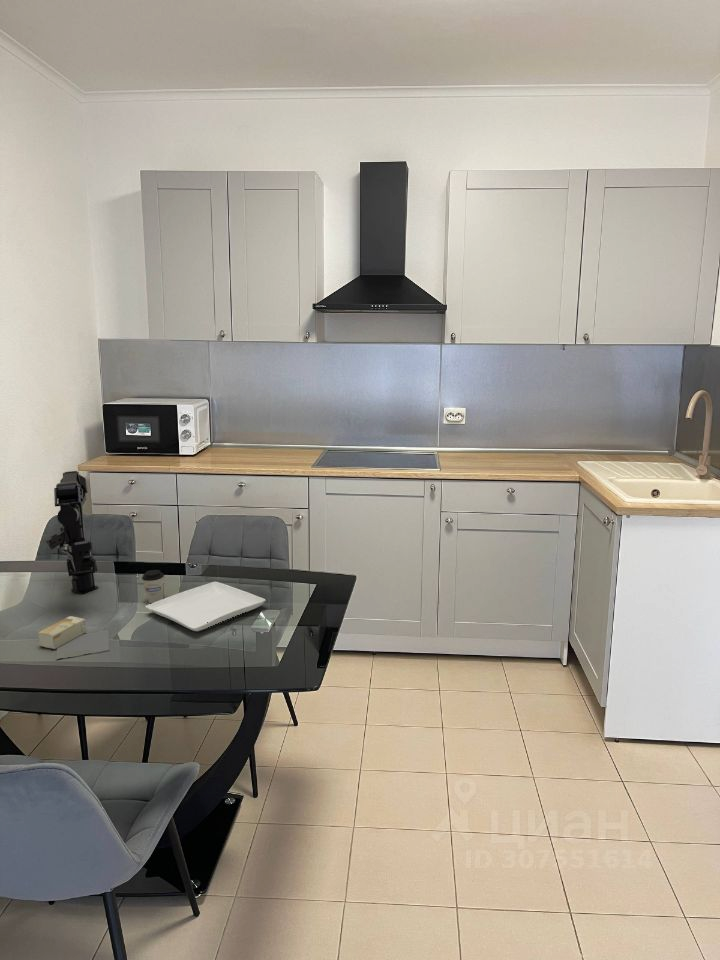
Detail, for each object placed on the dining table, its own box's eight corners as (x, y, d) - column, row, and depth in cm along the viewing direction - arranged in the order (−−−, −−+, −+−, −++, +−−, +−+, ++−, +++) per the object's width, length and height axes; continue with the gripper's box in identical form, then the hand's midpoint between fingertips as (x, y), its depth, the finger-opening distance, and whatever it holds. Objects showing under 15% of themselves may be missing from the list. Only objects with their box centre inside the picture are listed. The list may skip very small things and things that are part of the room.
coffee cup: (148, 597, 243) (145, 568, 241) (169, 596, 243) (166, 568, 241) (141, 605, 236) (138, 576, 234) (163, 605, 236) (160, 576, 234)
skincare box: (85, 618, 217) (53, 635, 206) (87, 632, 218) (55, 649, 207) (68, 615, 219) (36, 632, 209) (70, 628, 220) (38, 646, 210)
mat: (58, 639, 214) (58, 638, 214) (108, 630, 219) (108, 629, 219) (56, 660, 201) (55, 659, 201) (109, 650, 206) (109, 649, 206)
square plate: (268, 609, 231) (267, 598, 230) (194, 640, 211) (193, 627, 210) (216, 589, 249) (215, 578, 248) (144, 616, 229) (143, 604, 229)
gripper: (37, 524, 235) (43, 572, 236) (51, 528, 220) (57, 579, 221) (73, 519, 242) (79, 566, 243) (89, 522, 226) (95, 572, 228)
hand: (77, 571), depth 233 cm, fingers closed
